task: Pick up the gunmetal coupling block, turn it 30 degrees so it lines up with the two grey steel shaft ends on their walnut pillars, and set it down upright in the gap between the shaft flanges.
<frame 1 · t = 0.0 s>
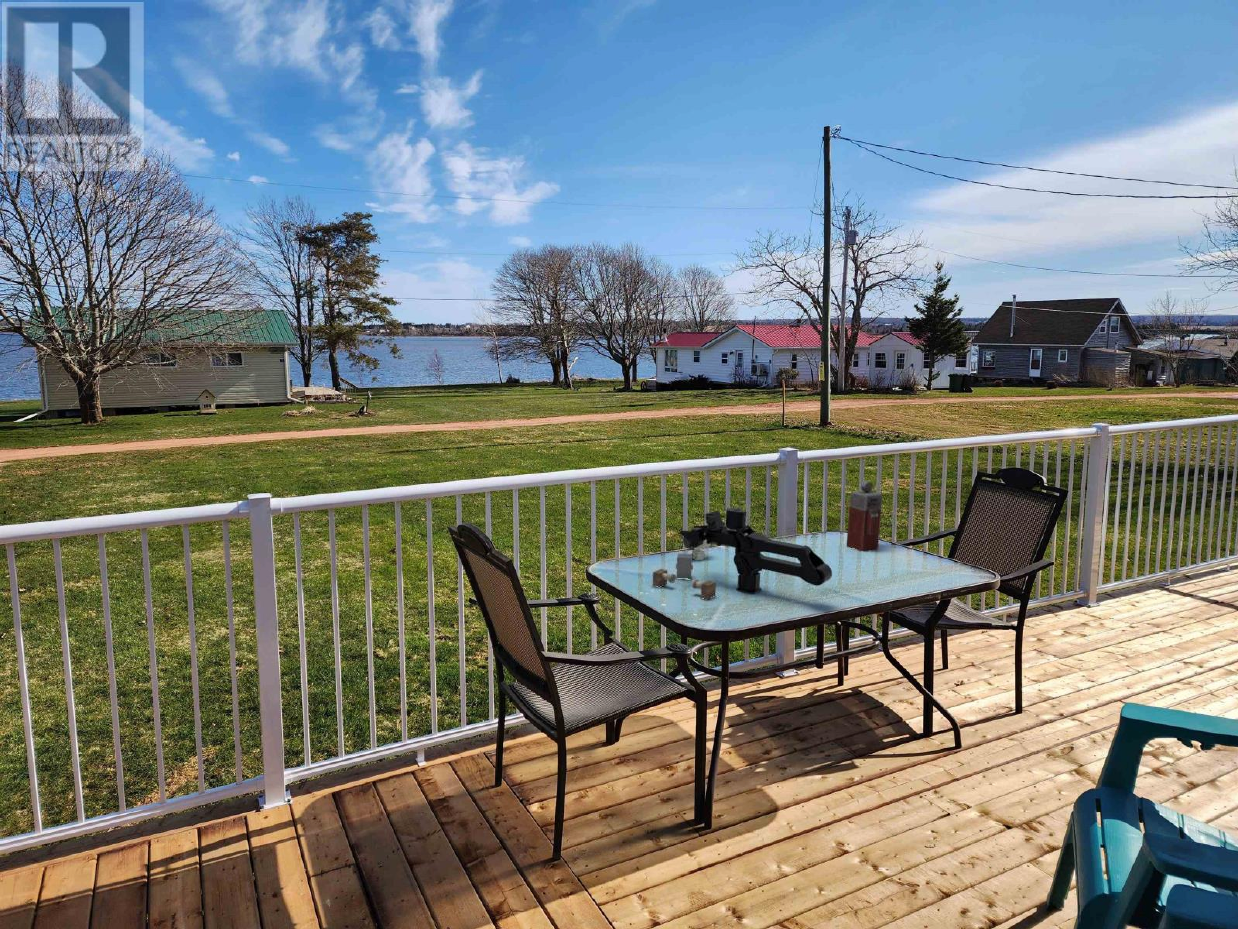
hand: (687, 529, 272), 17 cm above the table, tool horizontal, fingers open, 9 cm apart
coupling block: (683, 577, 272), on the table
shaft stand: (683, 591, 257), on the table
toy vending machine: (864, 549, 317), on the table
pneumatic valve: (698, 560, 295), on the table
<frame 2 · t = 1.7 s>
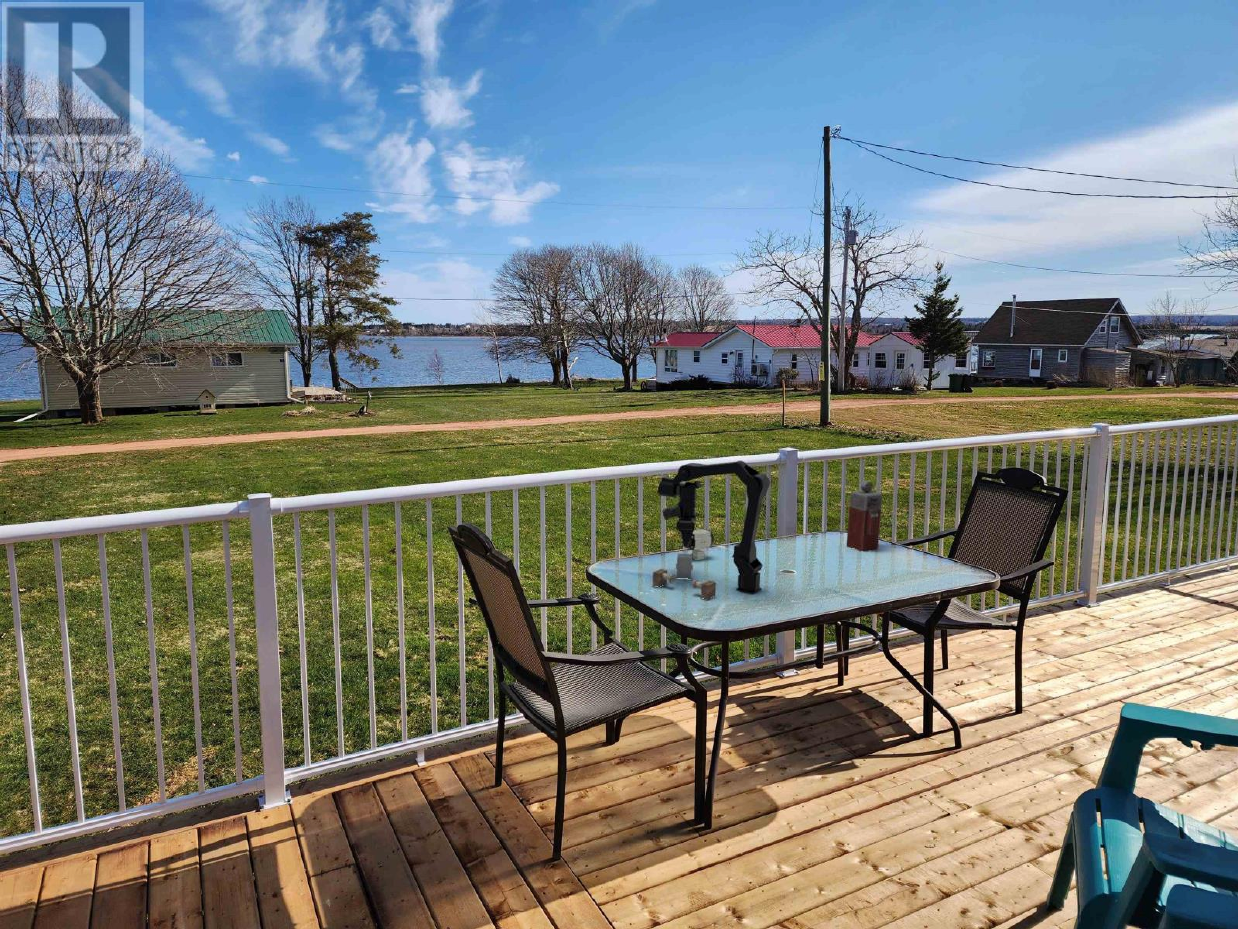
hand: (685, 543, 270), 12 cm above the table, tool pointing down, fingers open, 9 cm apart
nothing on the table moved.
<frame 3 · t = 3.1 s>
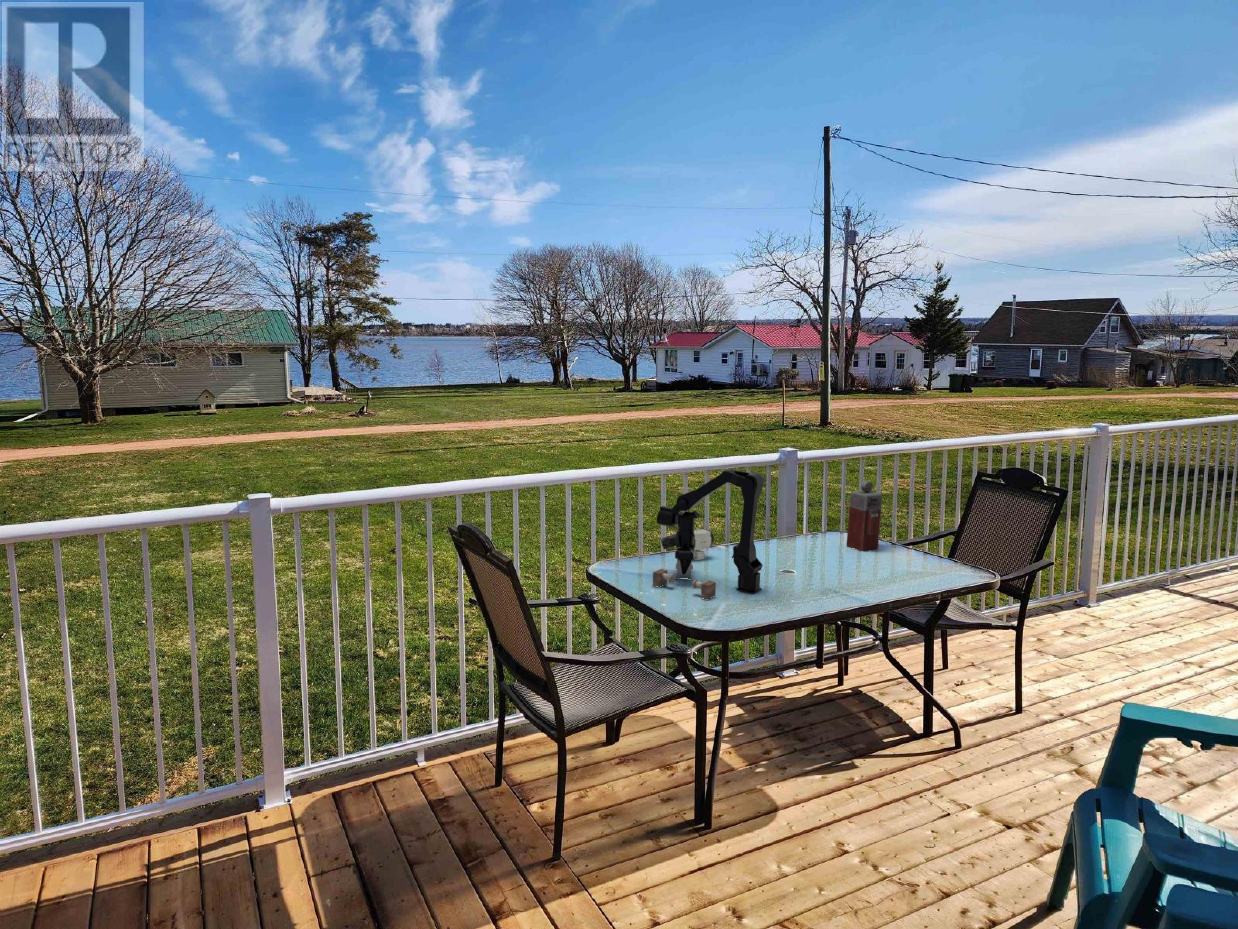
hand: (684, 572, 271), 2 cm above the table, tool pointing down, fingers closed on coupling block, 5 cm apart
coupling block: (683, 577, 272), on the table, touching gripper
everything else where it was.
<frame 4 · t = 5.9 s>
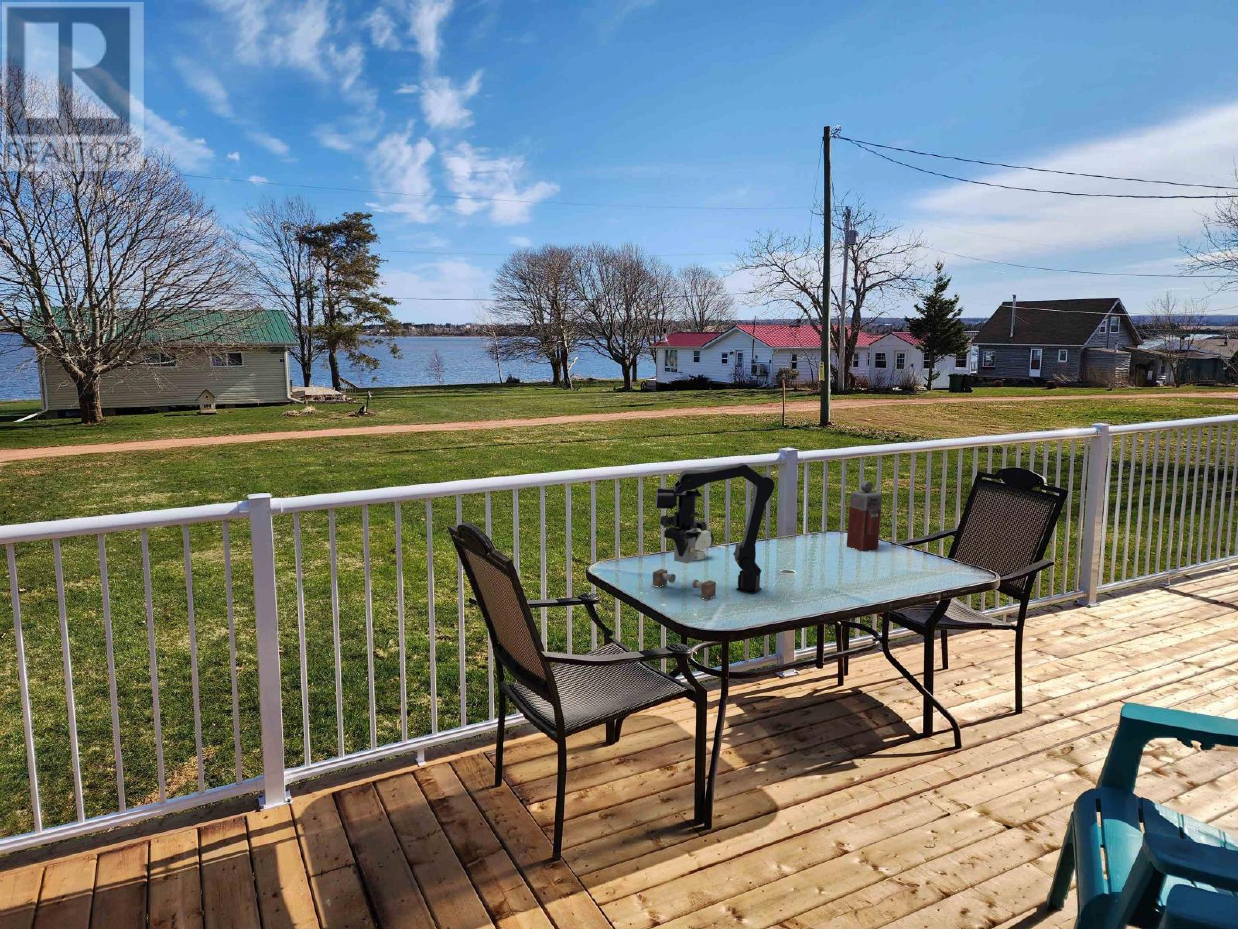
hand: (684, 554, 257), 12 cm above the table, tool pointing down, fingers closed on coupling block, 5 cm apart
coupling block: (684, 560, 257), point 10 cm above the table, touching gripper
everything else where it was.
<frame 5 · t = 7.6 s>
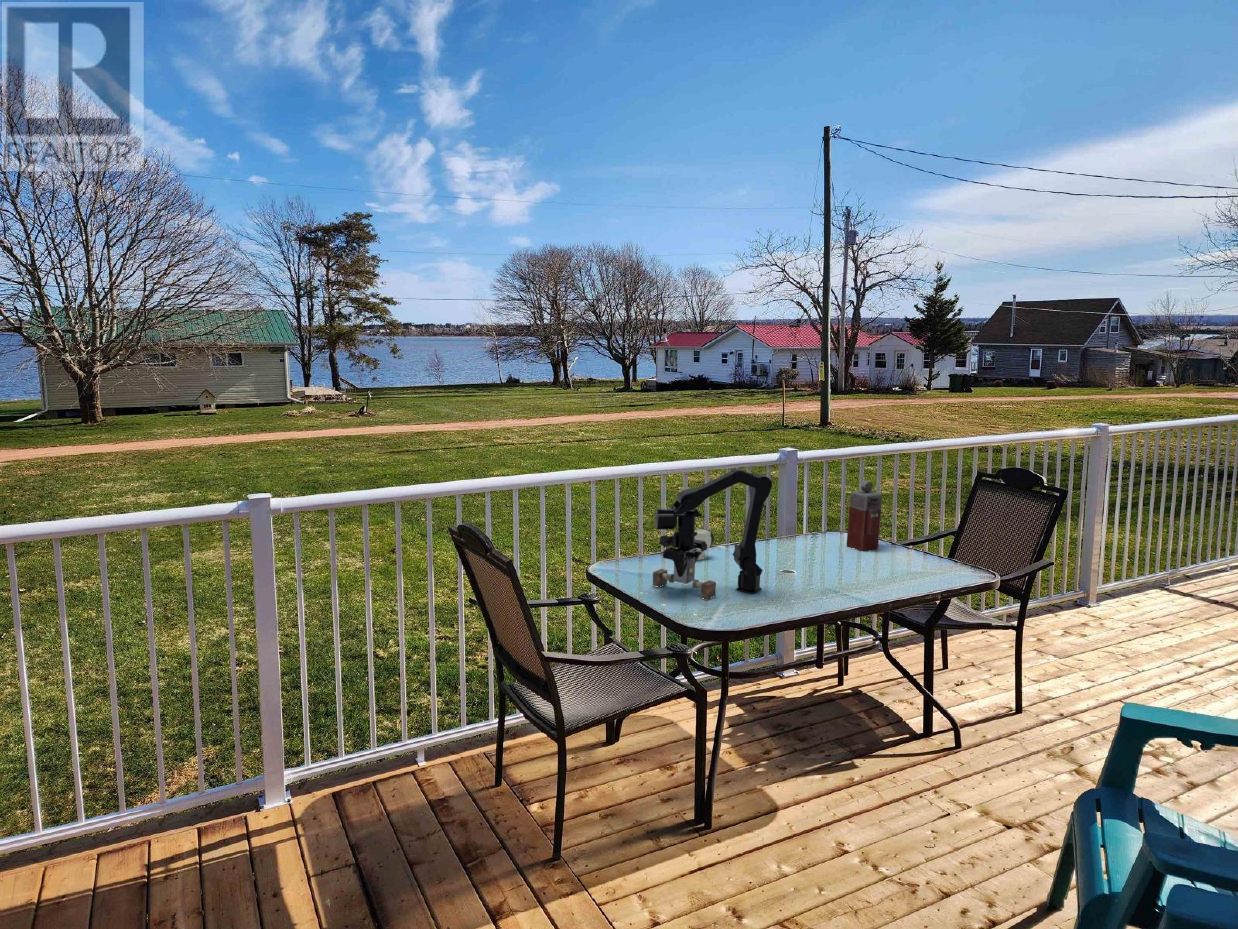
hand: (684, 574, 256), 6 cm above the table, tool pointing down, fingers closed on coupling block, 5 cm apart
coupling block: (683, 580, 256), point 4 cm above the table, touching gripper
everything else where it was.
when the fingers open (3 cm above the table, at t = 8.7 s): coupling block drops 1 cm, on the table.
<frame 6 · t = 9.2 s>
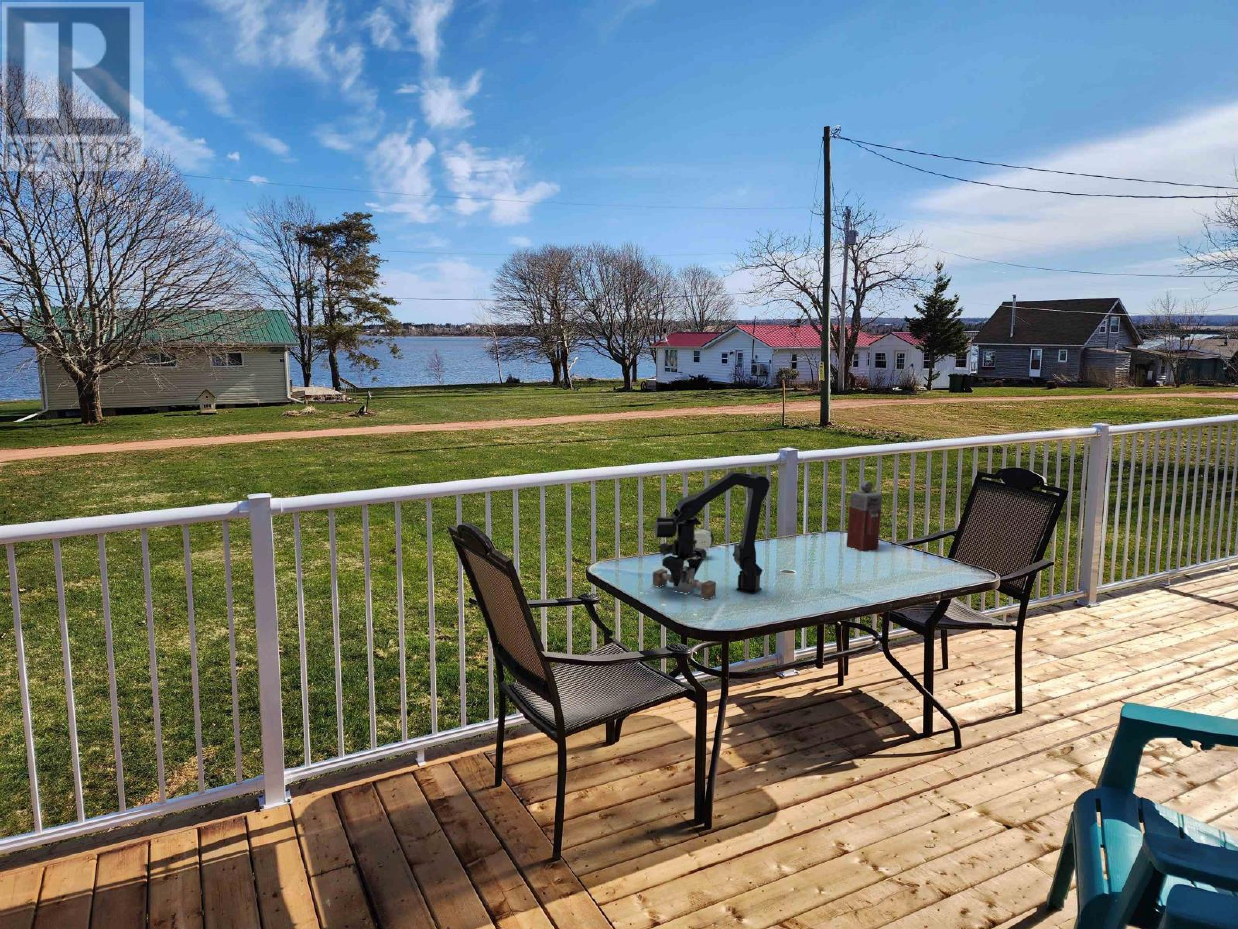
hand: (683, 582, 256), 3 cm above the table, tool pointing down, fingers open, 9 cm apart
coupling block: (683, 591, 257), on the table
everything else where it was.
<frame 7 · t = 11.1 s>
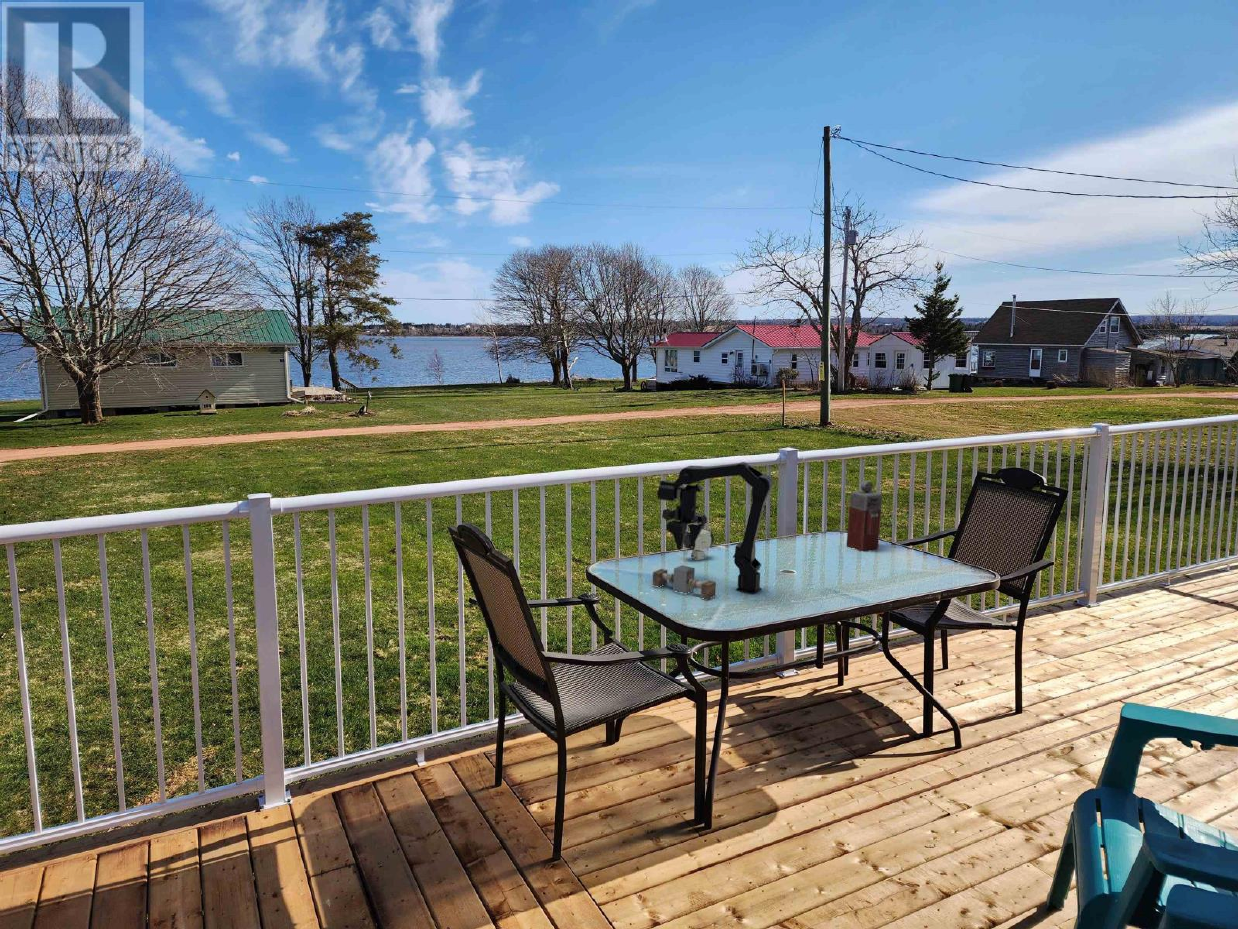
hand: (685, 547, 266), 12 cm above the table, tool pointing down, fingers open, 9 cm apart
nothing on the table moved.
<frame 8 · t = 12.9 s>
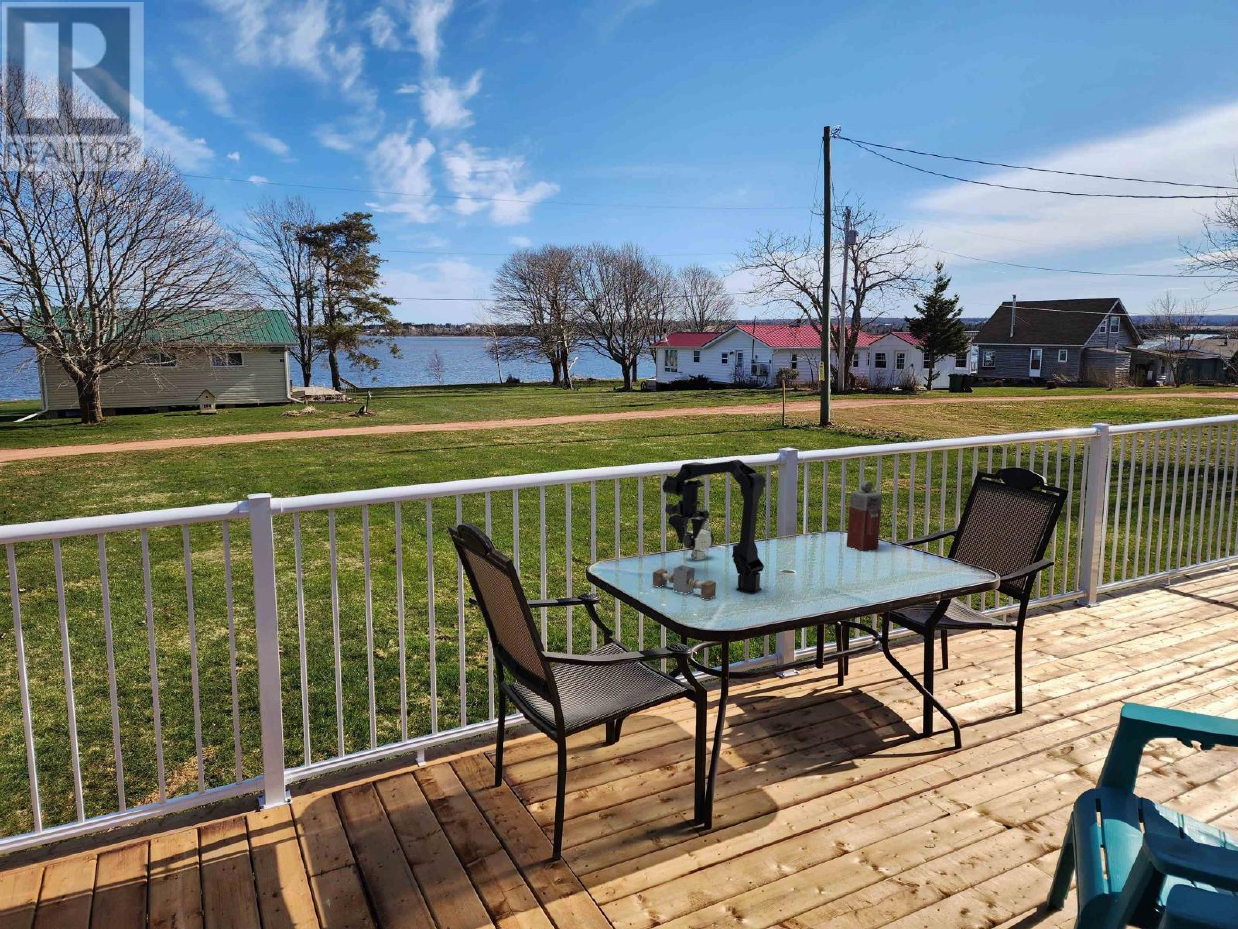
hand: (688, 540, 275), 12 cm above the table, tool pointing down, fingers open, 9 cm apart
nothing on the table moved.
at the end: coupling block 0.1 cm off-centre on the shaft stand, point 0.0 cm above the shaft stand's base; coupling block tilted 0°; the gripper is holding nothing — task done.
